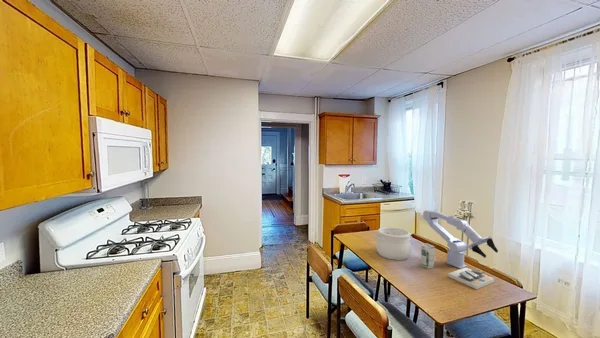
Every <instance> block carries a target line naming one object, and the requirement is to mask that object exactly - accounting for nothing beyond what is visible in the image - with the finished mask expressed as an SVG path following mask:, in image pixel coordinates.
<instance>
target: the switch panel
mask: <svg viewBox="0 0 600 338" xmlns="http://www.w3.org/2000/svg"><path fill="white" fill-rule="evenodd" d="M466 270H470V271H471V270H472V269H471V268H469V267H463V268H459V269H457V270H454V271H452V272H448V274H447V277H448V278H450V279H453V280H455V281H458V282H460V283H461V284H463V285H466V286H468V287H471V288H473V289H474V290H478V289H480V288H483V287H485V286H487V285H491V284H493V283H495V277H491V276H488V275H487V274H485V273H483V274H477V273H476V274H477V275H479V277H477V278H474V277H473V278H474V279H472V280H468V279H467V278H465V277H463V276H462V275H460V274H459V273H460V272H463V271H464V272H465V271H466ZM465 273H466V272H465ZM468 275H469V274H468ZM470 276H471V275H470Z"/></svg>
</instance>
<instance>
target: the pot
mask: <svg viewBox="0 0 600 338" xmlns="http://www.w3.org/2000/svg"><path fill="white" fill-rule="evenodd" d="M375 239H377V241H376V246H375V247H376V252H377V253H378V254H379V256H381V257H383V258H385V259H388V260H393V261H403V260H407V259H408V258H410V256H411V254H412V245H411V242H410V241H413V236H412V235H411V232H410V231H409V230H407V229H403V228H400V227H395V226H393V227H392V226H391V227H390V226H386V227H380V228H378V230H377V234H375Z"/></svg>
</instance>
